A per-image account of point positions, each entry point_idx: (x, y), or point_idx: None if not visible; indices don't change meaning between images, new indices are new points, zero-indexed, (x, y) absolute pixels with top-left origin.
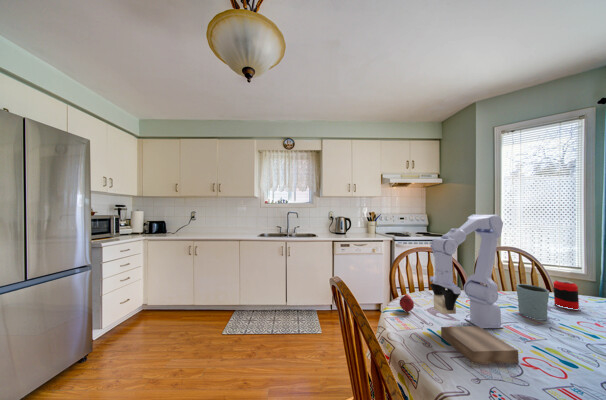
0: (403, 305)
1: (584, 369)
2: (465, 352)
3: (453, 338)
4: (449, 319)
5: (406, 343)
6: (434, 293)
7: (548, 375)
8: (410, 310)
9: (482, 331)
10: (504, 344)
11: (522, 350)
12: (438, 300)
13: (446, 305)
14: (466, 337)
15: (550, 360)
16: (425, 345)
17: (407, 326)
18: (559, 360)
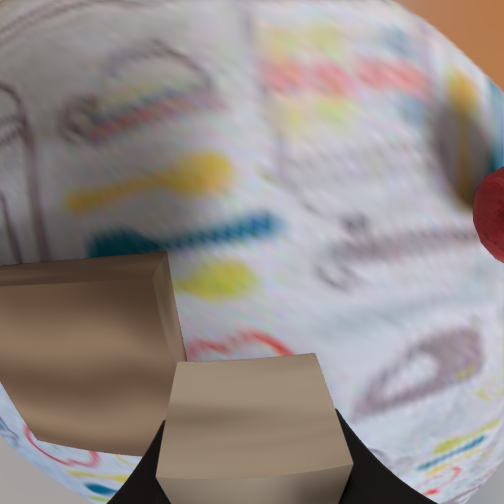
0: (502, 174)
1: (86, 491)
2: (3, 272)
3: (51, 279)
4: (367, 391)
5: (93, 11)
6: (377, 478)
7: (23, 423)
8: (473, 217)
9: (145, 444)
10: (57, 435)
11: (130, 465)
12: (238, 447)
13: (155, 448)
14: (55, 345)
15: (98, 476)
16: (72, 108)
17: (303, 88)
18: (107, 487)
